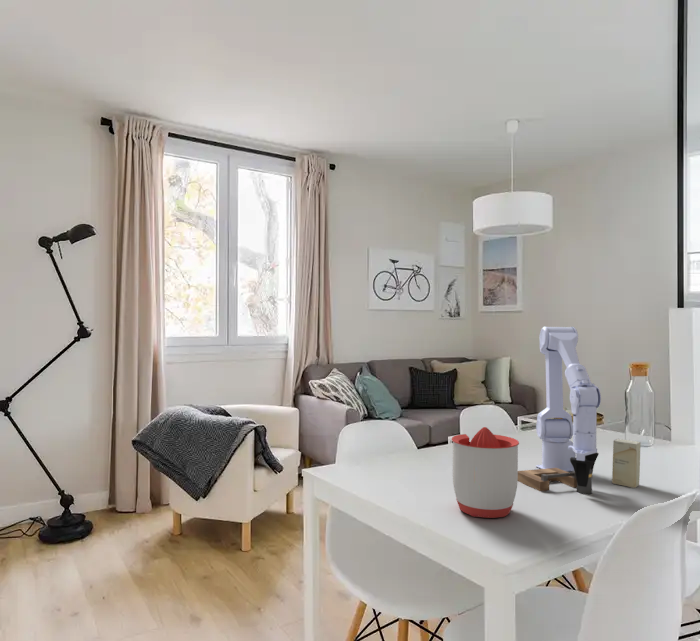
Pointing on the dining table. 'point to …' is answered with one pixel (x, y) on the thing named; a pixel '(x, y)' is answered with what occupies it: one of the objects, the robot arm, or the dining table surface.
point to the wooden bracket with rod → (546, 478)
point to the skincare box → (626, 463)
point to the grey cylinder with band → (588, 488)
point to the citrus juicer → (485, 473)
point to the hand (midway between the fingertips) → (584, 482)
